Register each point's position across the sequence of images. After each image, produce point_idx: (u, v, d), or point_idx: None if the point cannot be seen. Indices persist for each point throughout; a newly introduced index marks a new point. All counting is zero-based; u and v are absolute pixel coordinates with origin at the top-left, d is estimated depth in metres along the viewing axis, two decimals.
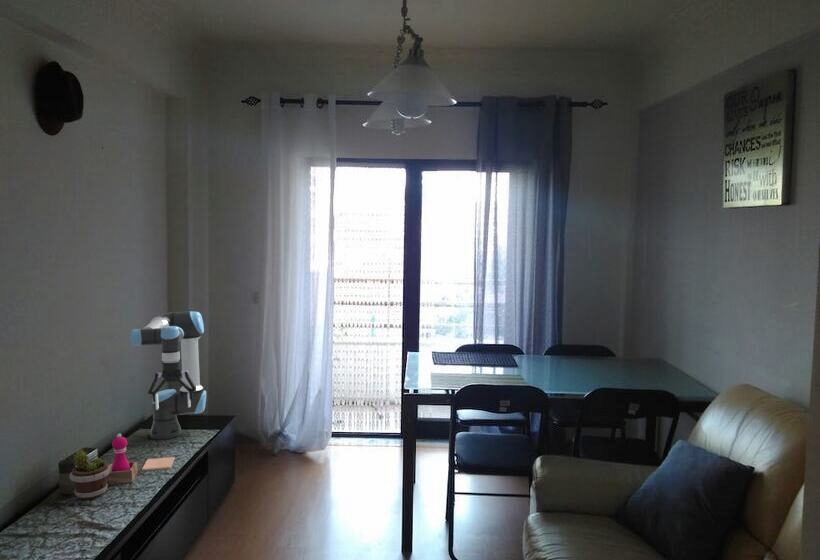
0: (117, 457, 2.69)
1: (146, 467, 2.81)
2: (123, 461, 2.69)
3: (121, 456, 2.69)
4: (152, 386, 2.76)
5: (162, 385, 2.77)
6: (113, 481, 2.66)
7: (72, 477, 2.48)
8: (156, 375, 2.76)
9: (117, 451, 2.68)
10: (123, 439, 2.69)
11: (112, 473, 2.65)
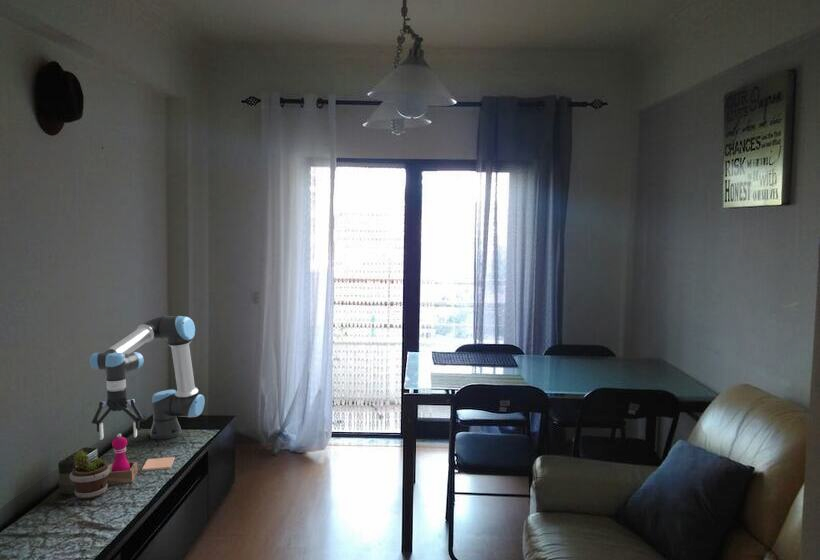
0: (117, 457, 2.69)
1: (146, 467, 2.81)
2: (123, 461, 2.69)
3: (121, 456, 2.69)
4: (96, 415, 2.66)
5: None
6: (113, 481, 2.66)
7: (72, 477, 2.48)
8: (100, 404, 2.66)
9: (117, 451, 2.68)
10: (123, 439, 2.69)
11: (112, 473, 2.65)
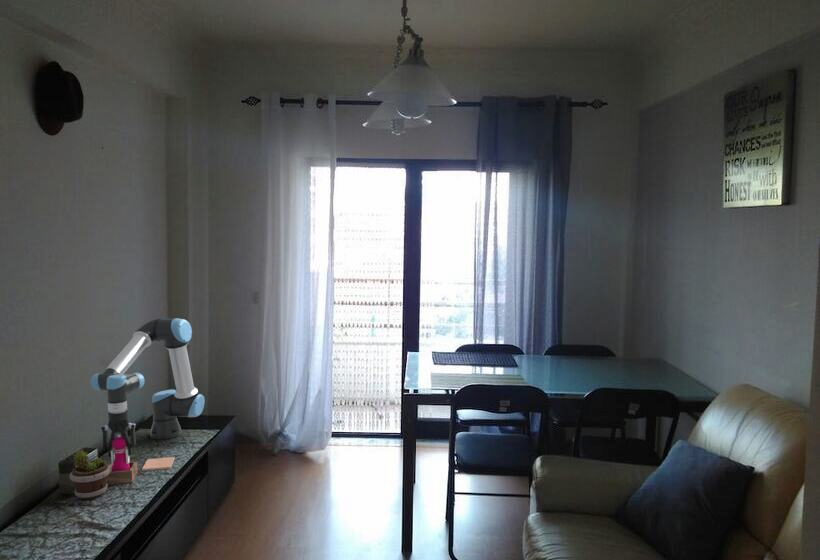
0: (117, 457, 2.69)
1: (146, 467, 2.81)
2: (123, 461, 2.69)
3: (121, 456, 2.69)
4: (104, 440, 2.68)
5: (113, 437, 2.68)
6: (113, 481, 2.66)
7: (72, 477, 2.48)
8: (103, 429, 2.67)
9: (117, 451, 2.68)
10: (123, 439, 2.69)
11: (112, 473, 2.65)
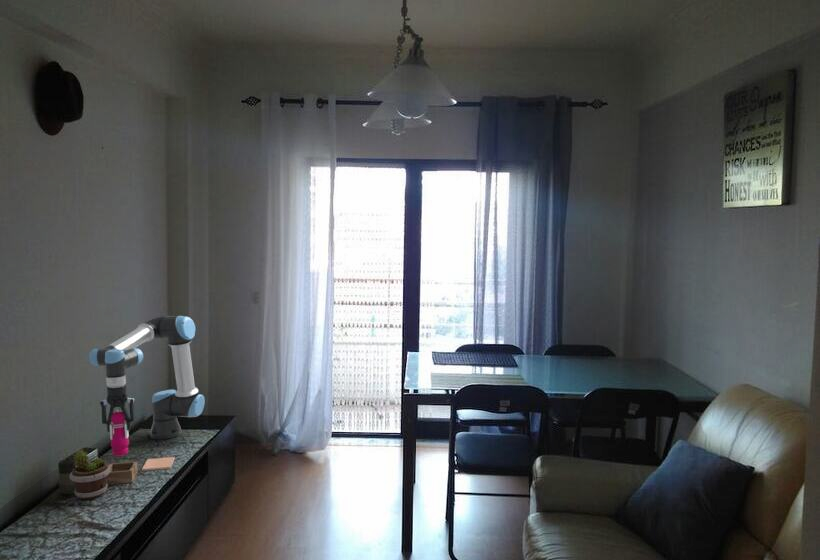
0: (116, 432, 2.68)
1: (146, 467, 2.81)
2: (122, 436, 2.69)
3: (120, 431, 2.68)
4: (103, 415, 2.67)
5: (112, 412, 2.67)
6: (113, 481, 2.66)
7: (72, 477, 2.48)
8: (101, 403, 2.66)
9: (116, 426, 2.67)
10: (122, 414, 2.68)
11: (112, 473, 2.65)
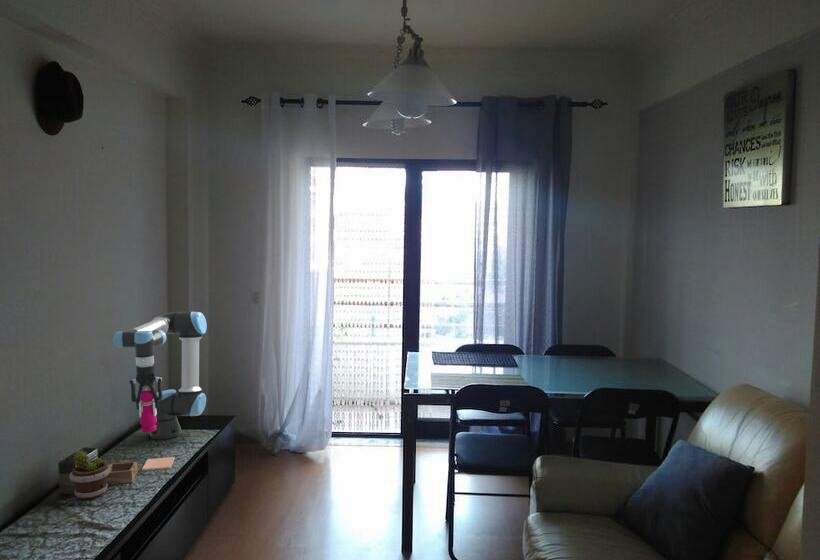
0: (145, 409, 2.79)
1: (146, 467, 2.81)
2: (151, 414, 2.80)
3: (149, 408, 2.80)
4: (132, 393, 2.78)
5: (141, 390, 2.79)
6: (113, 481, 2.66)
7: (72, 477, 2.48)
8: (131, 382, 2.78)
9: (145, 403, 2.78)
10: (150, 392, 2.80)
11: (112, 473, 2.65)
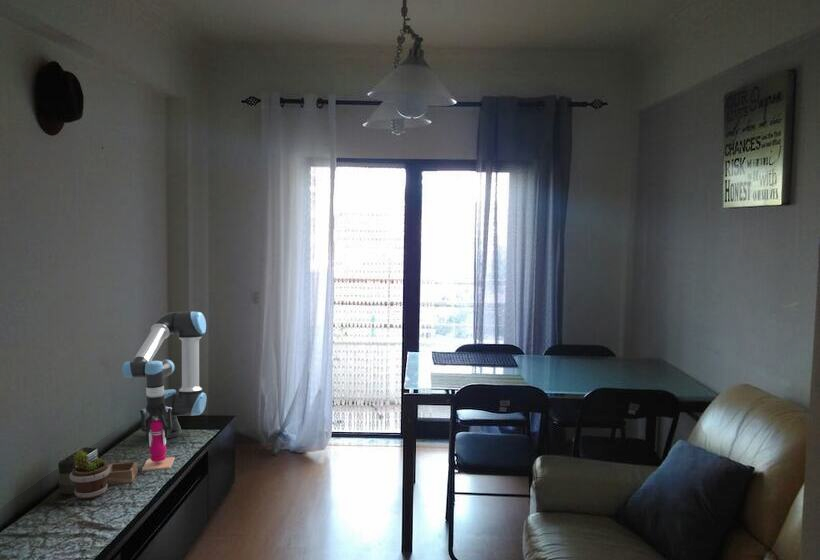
0: (155, 439, 2.84)
1: (146, 467, 2.81)
2: (160, 443, 2.84)
3: (159, 438, 2.84)
4: (143, 423, 2.83)
5: (151, 420, 2.83)
6: (113, 481, 2.66)
7: (72, 477, 2.48)
8: (141, 412, 2.82)
9: (155, 433, 2.83)
10: (160, 422, 2.84)
11: (112, 473, 2.65)
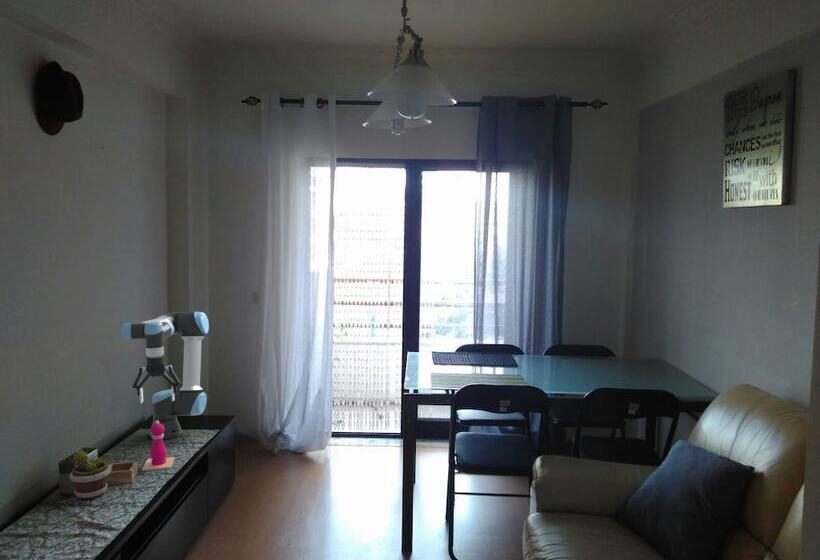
0: (155, 443, 2.84)
1: (146, 467, 2.81)
2: (161, 447, 2.85)
3: (159, 442, 2.84)
4: (136, 380, 2.82)
5: (146, 379, 2.83)
6: (113, 481, 2.66)
7: (72, 477, 2.48)
8: (140, 370, 2.82)
9: (155, 437, 2.83)
10: (161, 426, 2.84)
11: (112, 473, 2.65)
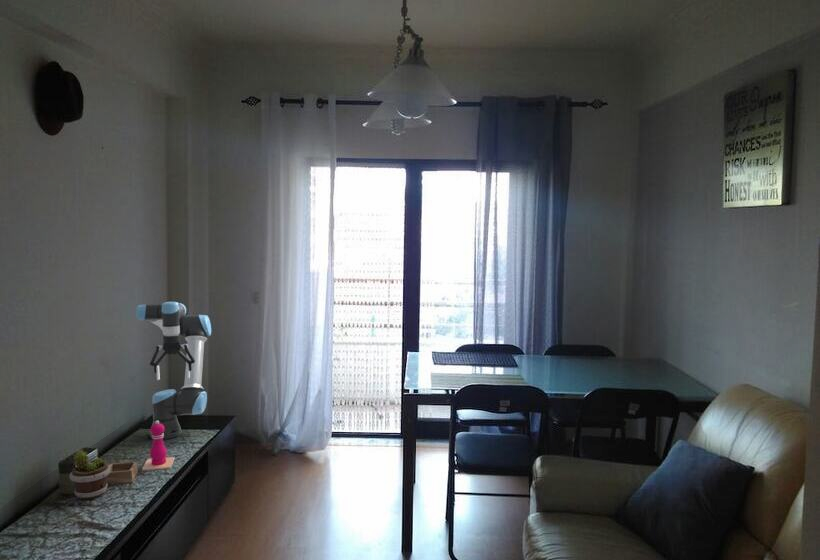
0: (155, 442, 2.84)
1: (146, 467, 2.81)
2: (161, 447, 2.85)
3: (159, 441, 2.84)
4: (153, 358, 2.94)
5: None
6: (113, 481, 2.66)
7: (72, 477, 2.48)
8: (157, 347, 2.94)
9: (155, 437, 2.83)
10: (161, 426, 2.84)
11: (112, 473, 2.65)
